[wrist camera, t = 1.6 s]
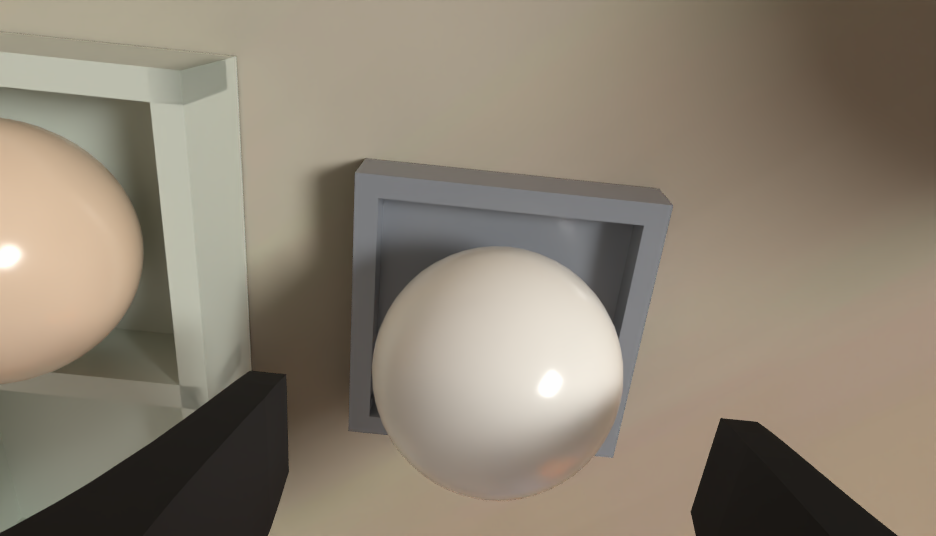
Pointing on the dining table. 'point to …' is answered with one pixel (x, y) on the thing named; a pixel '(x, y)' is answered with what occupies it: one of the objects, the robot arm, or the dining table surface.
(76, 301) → the brown egg
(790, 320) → the dining table surface
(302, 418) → the dining table surface
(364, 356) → the dish
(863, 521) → the robot arm
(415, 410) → the white egg
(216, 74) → the egg tray
